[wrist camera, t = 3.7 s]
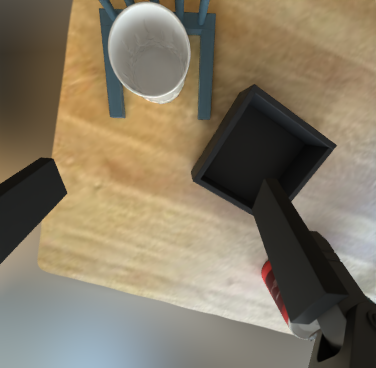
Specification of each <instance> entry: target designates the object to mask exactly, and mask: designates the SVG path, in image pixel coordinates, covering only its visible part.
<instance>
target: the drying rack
mask: <svg viewBox="0 0 376 368" xmlns="http://www.w3.org/2000/svg"><path fill="white" fill-rule="evenodd" d="M99 1H100V3H101V4H102V6H103V7H104V9H103V8H99V14H100V24H101V33H102V43H103V53H104V62H105V72H106V82H107V92H108V101H109V111H110V117H113V118H125V108H124V95H123V84H122V83H121V81H120V80H119V79H118V77H117V76H116V74H115V72H114V70H113V68H112V66H111V63H110V59H109V54H108V38H109V33H110V30H111V27H112V25H113V23H114V21H115V19H116V18H117V16H118V15H119V14H120V13H121V12H122V11H123V10H124V9H114V7H113V6H112V4H111V2H110V0H99ZM124 1H125V3H126V5H127V7H128V6H130V5H132V4H135V2H134V0H124ZM209 1H210V0H200V6H199V13H191V12H184V0H175V11H176V12H173V13H174V14H175V15H176V16H177V17H178V19H179V20H180V21H181V23H182V24H183V26H184V28H185V30H186V33H187V35H200V63H199V94H198V120H209V119H210V115H211V96H212V77H213V58H214V39H215V20H216V14H213V13H207V10H208V5H209ZM150 2H154V3H158V4H159V0H150Z"/></svg>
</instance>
